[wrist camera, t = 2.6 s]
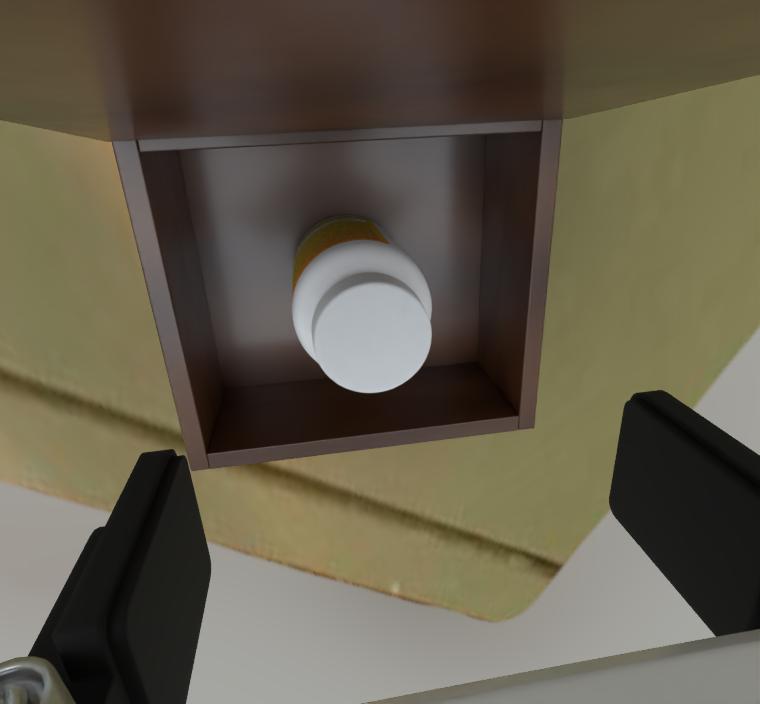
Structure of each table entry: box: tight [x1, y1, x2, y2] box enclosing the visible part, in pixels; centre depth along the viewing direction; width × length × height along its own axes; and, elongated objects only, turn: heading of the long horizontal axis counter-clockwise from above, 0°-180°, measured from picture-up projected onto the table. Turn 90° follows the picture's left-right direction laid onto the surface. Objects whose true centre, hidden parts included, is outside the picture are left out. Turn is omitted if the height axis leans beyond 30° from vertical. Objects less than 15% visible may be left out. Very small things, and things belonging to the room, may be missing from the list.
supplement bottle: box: [292, 215, 432, 393], centre depth 21 cm, size 5×5×10 cm
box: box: [112, 119, 563, 471], centre depth 23 cm, size 14×16×7 cm
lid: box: [0, 0, 760, 142], centre depth 10 cm, size 14×16×1 cm
